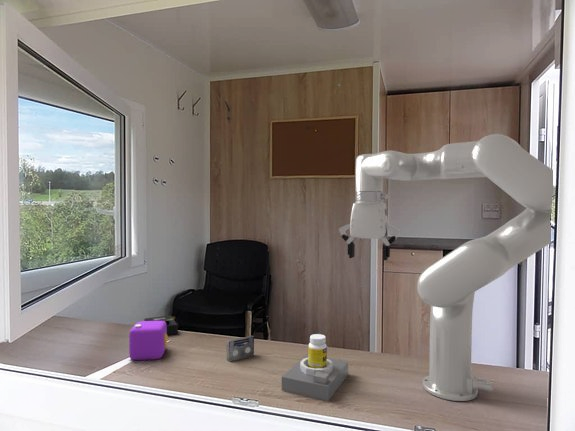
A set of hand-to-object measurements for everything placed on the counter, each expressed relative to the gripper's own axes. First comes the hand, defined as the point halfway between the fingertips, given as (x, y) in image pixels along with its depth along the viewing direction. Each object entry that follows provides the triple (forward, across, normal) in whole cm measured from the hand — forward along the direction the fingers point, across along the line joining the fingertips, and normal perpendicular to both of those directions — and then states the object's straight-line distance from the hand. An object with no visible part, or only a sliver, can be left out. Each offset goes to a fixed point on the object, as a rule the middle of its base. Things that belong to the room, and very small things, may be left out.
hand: (368, 258), depth 110 cm
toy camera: (+31, +62, +21) cm, 72 cm away
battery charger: (+31, +74, +4) cm, 80 cm away
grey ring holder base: (+30, +9, +17) cm, 36 cm away
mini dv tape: (+31, +35, +12) cm, 48 cm away
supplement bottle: (+27, +9, +17) cm, 33 cm away
